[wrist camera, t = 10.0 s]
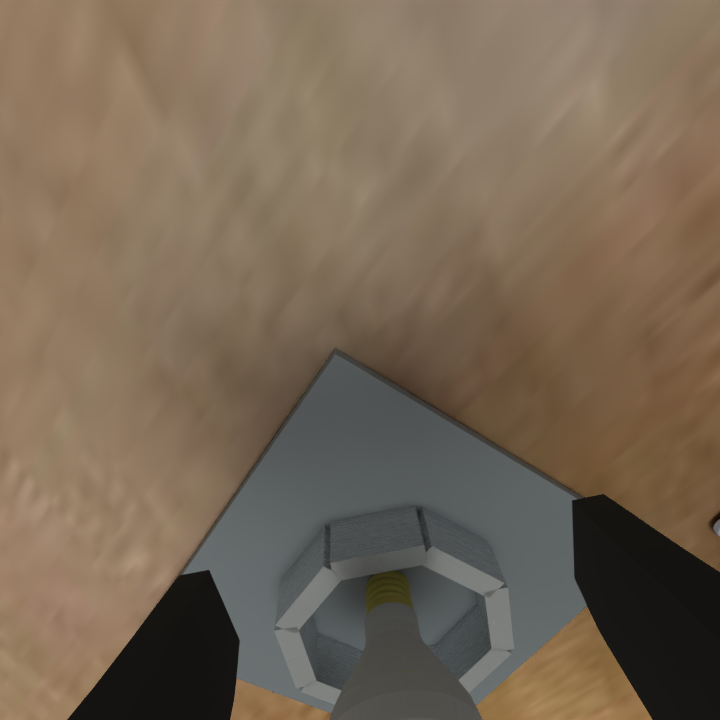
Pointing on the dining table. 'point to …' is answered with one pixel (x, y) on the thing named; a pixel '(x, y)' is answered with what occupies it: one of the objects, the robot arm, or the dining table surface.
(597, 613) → the robot arm
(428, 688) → the light bulb
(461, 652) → the holder
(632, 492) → the dining table surface
